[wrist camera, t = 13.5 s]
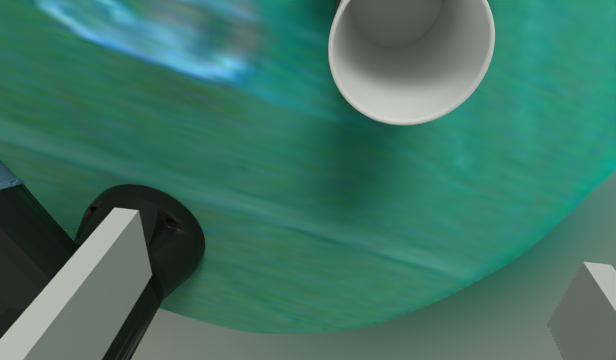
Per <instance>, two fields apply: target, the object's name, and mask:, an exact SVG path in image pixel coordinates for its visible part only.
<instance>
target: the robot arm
mask: <svg viewBox="0 0 616 360" xmlns="http://www.w3.org/2000/svg"><path fill="white" fill-rule="evenodd" d="M23 183H24V181H23V180H22V179H21V178H17V177H16V176H15V175H14V174H13V173H12V172H11V171H10V169H9V168H8V167H7V166H6V165H5V164H4V163H3V162H2V161H1V160H0V360H131V358H132V356H133V354H134V353H135V351H136V349H137V347H138V345H139V343H140V341H141V340H142V337H143V336H144V334H145V332H146V330H147V328H148V326H149V325H150V323H151V321H152V319H153V317H154V315H155V313H156V311H157V310H158V308H159V306H160V304H161V303H162V301H163V300H164V299H165V298H166V297H167V296H168V295H169V294H170V293H172V292H173V291H174V290H175V289H176V288H177V287H178V286H179V285H180V284H182V283H183V282H184V281H185V280H186V279H188V278H189V277H190V276H191V275H192V274H193V272H194V271H195V269H196V268H197V266H198V264H199V262H200V260H201V258H202V256H203V253H204V249H205V241H204V235H203V232H202V230H201V227H200V225H199V224H198V222H197V220H196V219H195V217H194V216H193V215H192V214H191V213H190V211H189V210H188V209H187V208H186V207H184V206H183V205H182V204H181V203H180V202H178V201H177V200H175V199H174V198H172V197H171V196H169V195H167V194H165V193H163V192H161V191H159V190H156V189H153V188H150V187H146V186H141V185H131V184H129V185H119V186H115V187H112V188H109V189H107V190H106V191H104V192H103V193H101V194H100V195H99V196H98V197H97V198H96V199H95V200H94V201H93V202H92V203H91V205H90V206H89V207H88V209H87V210H86V212H85V214H84V216H83V219H82V221H81V224H80V226H79V229H78V232H77V234H76V237H75V239H74V241H73V240H72V239H71V238H70V237H69V236H68V235H67V234H66V232H65V231H64V230H63V229H62V228H61V227H60V226H59V224H58V223H57V222H56V221H55V220H54V219H53V218H52V217H51V215H50V214H49V213H48V212H47V211H46V210H45V209H44V207H43V206H42V205H41V204H40V203H39V202H38V201H37V199H36V198H35V197H34V196H33V195H32V194H31V192H30V191H29V190H28V189H27V188H26V187H25V185H24V184H23ZM547 325H548V327H549V329H550V332H551V334H552V336H553V338H554V340H555V342H556V344H557V346H558V349H559V351H560V353H561V355H562V357H563V359H564V360H616V271H615V270H614V268H613V267H612V266H611V265H607V264H598V263H590V262H583V263H582V265H581V267H580V268H579V270H578V272H577V274H576V276H575V277H574V279H573V281H572V282H571V284H570V286H569V288H568V289H567V291H566V293H565V295H564V296H563V298H562V300H561V302H560V303H559V305H558V307H557V308H556V310H555V313H554V314H553V316H552V317H551V319H550V321H549V322H548V324H547Z"/></svg>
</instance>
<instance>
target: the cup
mask: <svg viewBox="0 0 616 360" xmlns="http://www.w3.org/2000/svg"><path fill="white" fill-rule="evenodd" d="M494 41H495V28H494V21H493V16H492V13H491V10H490V7H489V4H488V2H487V0H341V2H340V5H339V7H338V10H337V12H336V15H335V18H334V20H333V23H332V26H331V30H330V36H329V45H328V54H329V64H330V69H331V73H332V76H333V79H334V81H335V83H336V85H337V87H338V89H339V91H340V92H341V94H342V95H343V96H344V98H345V99H346V100H347V101H348V102H349V103H350V104H351V105H352V106H353V107H354V108H355V109H357V110H358V111H359V112H361V113H362V114H364V115H365V116H367V117H369V118H371V119H374V120H376V121H379V122H383V123H387V124H392V125H415V124H421V123H425V122H429V121H432V120H435V119H437V118H439V117H442V116H444V115H446V114H447V113H449V112H451V111H452V110H454V109H455V108H457V107H458V106H459V105H461V104H462V103H463V102H464V101H465V100H466V99H467V98H468V97H469V96H470V95H471V94H472V93H473V92H474V91H475V89H476V88H477V87H478V85H479V84H480V82H481V81H482V79H483V77H484V75H485V73H486V72H487V69H488V67H489V64H490V61H491V58H492V55H493V49H494Z"/></svg>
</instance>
